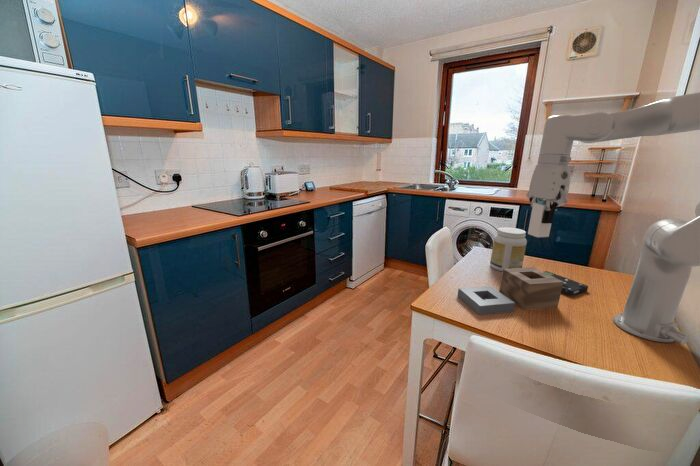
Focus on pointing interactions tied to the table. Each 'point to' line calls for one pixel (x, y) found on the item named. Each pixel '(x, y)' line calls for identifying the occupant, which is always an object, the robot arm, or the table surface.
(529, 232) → the plug peg
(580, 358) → the table surface
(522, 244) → the supplement tub
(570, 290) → the disk drive
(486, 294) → the lower socket plate
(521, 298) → the upper socket tower
